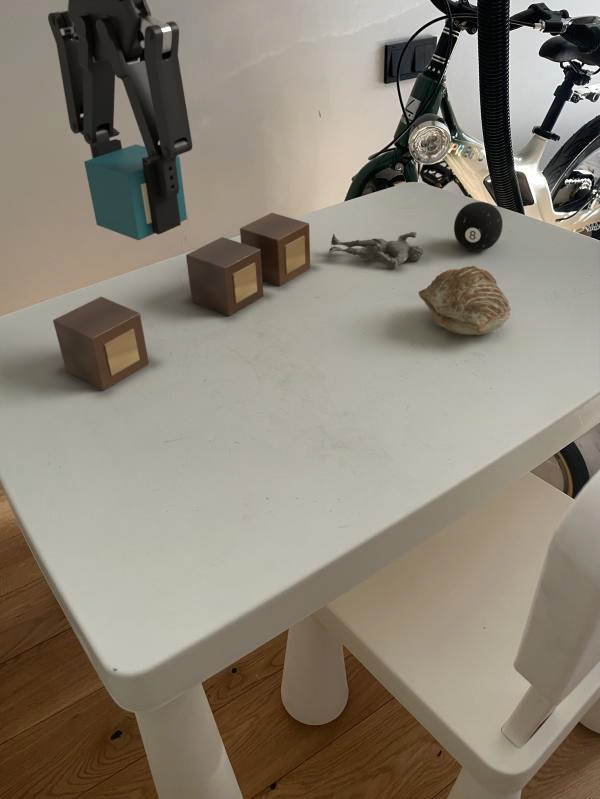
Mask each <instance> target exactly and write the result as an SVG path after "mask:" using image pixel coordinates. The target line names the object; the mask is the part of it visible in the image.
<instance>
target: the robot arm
mask: <svg viewBox="0 0 600 799" xmlns="http://www.w3.org/2000/svg"><path fill="white" fill-rule="evenodd" d="M67 2H68V3H67V9H65V10H60V11H54V12H49V13H48V15H47V21H48V25H49V27H50V29H51V32H52V36H53V38H54V41H55V45H56V49H57V51H56V52H57V57H58V63H59V68H60V75H61V80H62V86H63V94H64V98H65V99H64V100H65V104H66V105H65V106H66V111H67V117H68V124H69V128H70V130H71V132H72V133H73V134H81V135H82V136H83V139H84V141H85V142H86V144H88V145H89V148H90V152H91V159H93V158H96V157H99V156H102V155H105V154H108V153H111V152H114V151H117V150H120V149H123V146H122V140H121V139H117V138H115V139H111V138H114V137H117V136H119V135H120V133H121V132H120V131H119V130H118V129H116V128H115V126H114V124H115V123H114V122H115V91H116V78H118V79H120V80H121V81H122V83H123V87H124V89H125V93H126V96H127V98H128V101H129V104H130V108H131V110H132V113H133V116H134V118H135V122H136V124H137V127H138V131H139V132H140V135H141V139H142V142H143V146H144V147H145V148H146V151H147V154H148V156H147V157H144V158H142V163H143V170H144V176H145V183H146V188H147V194H148V201H149V207H150V214H151V220H152V228H153V233H155V235H158V236H159V235H161V234H163V233H166V232H168V231H170V230H173V229H175V228H178V227H179V226H181V224H182V222H180V215H179V207H178V199H177V194H178V193H179V183H178V178H177V177H178V175H177V167H176V157H177V156H179V155H182V154H186V153H188V152H191V151H192V150H193V140H192V133H191V127H190V122H189V115H188V109H187V104H186V103H187V102H186V96H185V90H184V85H183V84H184V83H183V79H182V71H181V65H180V58H179V43H180V28H179V26H178V24H177V22H175V21H166V22H162V21H160V20H158V19H157V18H155V17H153V16H152V12H151V10H150V7H149V5H148V2H147V0H68V1H67ZM81 115H83V116H81Z"/></svg>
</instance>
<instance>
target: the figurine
mask: <svg viewBox="0 0 600 799" xmlns="http://www.w3.org/2000/svg"><path fill="white" fill-rule="evenodd" d="M417 234H418V233H417V232H416V231H410V232H409V233H407V232H406V233H405V234H404V233H403V234H400V235H399V236H398V238H397V240H389V241H387V240H385V239H383V238H376V237H375V238H371V239H362V240H359V239H356V240H351V241H340V240H339V239H338V238H337V237H336V235H335V233H332V237H331V241H330V248H329V249H328V254H327V255H328V259H331V257H332V253H333V252H343V253H345V254H348V255H352V256H358V257H359V258H360V259H361V260H364V261H365V260H367V261H383V262H384V263H385V264H387V265H388V266H390V267H391V268H393V269H397V267H399V266H400V264H402V263H404V262H405V261H406V260H407V259H408V258H409V259H410V260H411V261H419V260H421V259H422V258H423V256H424V254H425V251H424V247H421V246H418V245H410V243H409V242H408V241H407V239H408V238H413V239H415V238H416V237H417ZM339 246H345V247H347V248H345V249H343V248H342V247H339ZM355 247H359V248H355Z"/></svg>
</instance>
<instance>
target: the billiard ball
mask: <svg viewBox="0 0 600 799" xmlns="http://www.w3.org/2000/svg"><path fill="white" fill-rule="evenodd" d="M503 223H504V222H503V217H502V214H501V213H500V211H499V209H498V208H497V207H495V206H494V205H493V204H491V203H488V202H485V201H473V202H470V203H467V204H466V205H464V206H463V207H462V208H461V209H460V210H459V212H458V213H457V215H456V217H455V219H454V224H453V232H454V237H455V239H456V241H457V242H458V244H459V245H461V247H463V248H465V249H467V250H470V251H475V252H478V251H479V252H480V251H485V250H488V249H490V248H491V247H493V246H494V245H496V243H497V242H498V241H499V239H500V237H501V234H502V232H503Z"/></svg>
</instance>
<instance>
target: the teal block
mask: <svg viewBox="0 0 600 799" xmlns="http://www.w3.org/2000/svg"><path fill="white" fill-rule="evenodd" d="M147 156H148V154H147V151H146V148H145V145H140V144H137V143H135V144H132V145H129V146H127V147H122V149H120V150H117V151H114V152H111V153H108V154H105V155H102V156H99V157H96V158H91V159H88V160H84V162H83V163H84V168H85V173H86V178H87V183H88V188H89V193H90V197H91V202H92V207H93V213H94V218H95V223H96V226H99V227H101V228H104V229H107V230H109V231H112V232H114V233H117V234H120V235H123V236H125V237H128V238H131V239H133V240H136V241H141V240H143V239H146V238H147V237H150V236H152V235H156V233H153V228H152V220H151V214H150V207H149V201H148V194H147V188H146V183H145V176H144V170H143V163H142V158H144V157H147ZM176 167H177V175H178V177H177V178H178V183H179V193H178V194H177V199H178V207H179V215H180V222H181V223H182V222H184V221H187V220H188V214H187V207H186V206H187V205H186V199H185V191H184V183H183V174H182V166H181V158H180V156H179V155H177V157H176Z"/></svg>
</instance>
